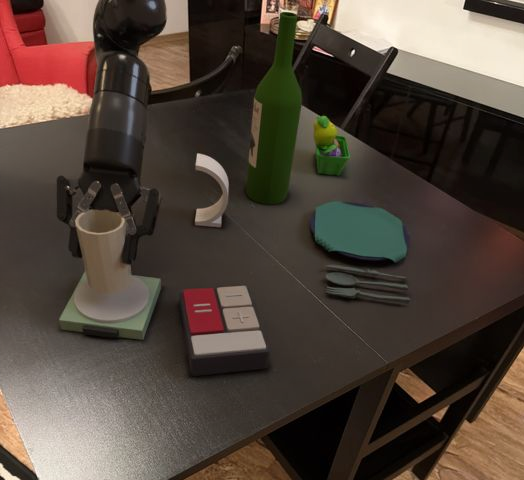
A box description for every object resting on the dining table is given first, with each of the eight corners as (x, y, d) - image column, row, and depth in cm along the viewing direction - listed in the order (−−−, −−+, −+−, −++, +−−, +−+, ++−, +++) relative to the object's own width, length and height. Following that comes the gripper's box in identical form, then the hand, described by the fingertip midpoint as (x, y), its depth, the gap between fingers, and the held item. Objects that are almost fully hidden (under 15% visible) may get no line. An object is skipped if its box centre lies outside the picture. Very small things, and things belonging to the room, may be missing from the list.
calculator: (248, 282, 76) (271, 347, 66) (246, 303, 79) (267, 368, 69) (179, 286, 74) (191, 354, 63) (179, 308, 77) (191, 376, 66)
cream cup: (81, 290, 68) (68, 230, 61) (95, 264, 72) (84, 205, 65) (125, 296, 68) (117, 237, 61) (136, 269, 72) (129, 211, 65)
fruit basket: (345, 179, 111) (357, 130, 103) (307, 174, 111) (317, 125, 102) (340, 156, 119) (352, 109, 111) (305, 152, 118) (314, 104, 110)
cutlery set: (401, 217, 102) (405, 208, 100) (419, 311, 82) (423, 301, 80) (309, 203, 102) (311, 194, 100) (303, 294, 81) (306, 283, 80)
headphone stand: (196, 212, 95) (197, 153, 86) (227, 215, 96) (230, 156, 87) (194, 225, 92) (195, 165, 83) (226, 227, 92) (230, 168, 84)
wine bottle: (240, 184, 104) (255, 5, 81) (279, 181, 107) (304, 7, 83) (252, 206, 99) (272, 20, 75) (292, 203, 101) (323, 23, 78)
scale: (59, 333, 69) (56, 320, 68) (88, 278, 78) (85, 265, 76) (142, 343, 70) (140, 331, 68) (161, 288, 78) (160, 275, 77)
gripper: (51, 118, 61) (37, 249, 62) (163, 133, 61) (148, 263, 62) (73, 141, 69) (60, 258, 69) (173, 155, 69) (159, 271, 69)
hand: (102, 260), depth 66 cm, fingers closed on cream cup, 6 cm apart
